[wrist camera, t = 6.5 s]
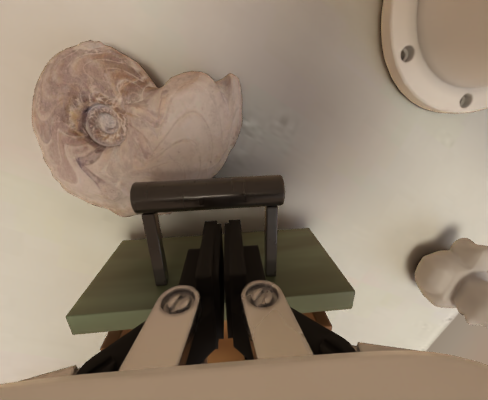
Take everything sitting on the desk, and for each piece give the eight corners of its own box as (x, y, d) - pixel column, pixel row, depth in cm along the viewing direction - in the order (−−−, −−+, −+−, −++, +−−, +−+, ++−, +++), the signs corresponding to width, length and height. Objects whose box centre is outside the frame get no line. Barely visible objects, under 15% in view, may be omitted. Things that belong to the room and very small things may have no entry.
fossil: (37, 235, 13) (-36, 28, 10) (83, 209, 17) (41, 55, 14) (248, 224, 14) (239, 16, 10) (246, 201, 18) (238, 46, 14)
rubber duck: (392, 283, 22) (476, 369, 15) (424, 222, 20) (542, 287, 13) (439, 289, 23) (541, 374, 16) (476, 231, 21) (614, 298, 14)
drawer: (103, 163, 15) (18, 202, 9) (315, 153, 16) (375, 182, 10) (158, 385, 23) (134, 489, 17) (297, 369, 24) (324, 462, 18)
